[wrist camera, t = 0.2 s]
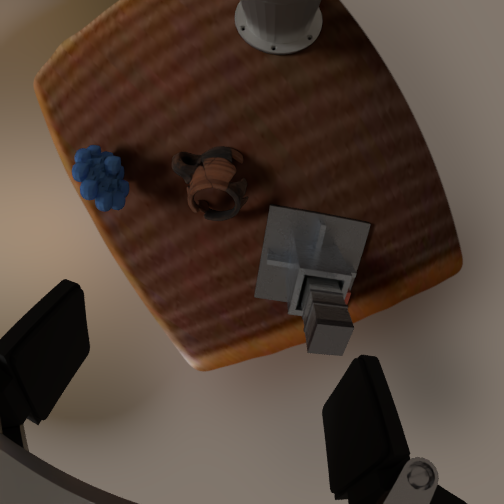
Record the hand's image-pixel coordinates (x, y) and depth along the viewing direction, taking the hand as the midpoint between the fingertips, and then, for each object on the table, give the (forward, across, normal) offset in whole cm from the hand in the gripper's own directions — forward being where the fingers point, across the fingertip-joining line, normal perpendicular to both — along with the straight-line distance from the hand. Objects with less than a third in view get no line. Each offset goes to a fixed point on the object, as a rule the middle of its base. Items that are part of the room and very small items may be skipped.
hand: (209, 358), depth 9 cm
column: (+36, -11, +11) cm, 39 cm away
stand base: (+37, -11, +10) cm, 40 cm away
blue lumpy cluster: (+37, +22, +2) cm, 43 cm away
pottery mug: (+37, +6, +1) cm, 37 cm away
